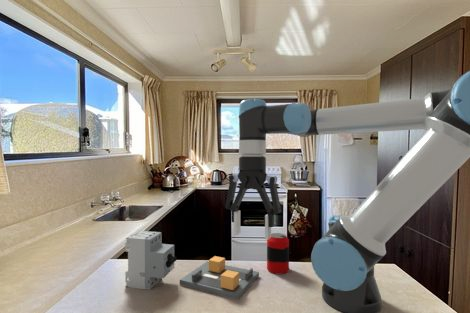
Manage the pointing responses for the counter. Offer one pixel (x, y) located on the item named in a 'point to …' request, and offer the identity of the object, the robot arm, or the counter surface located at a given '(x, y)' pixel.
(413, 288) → the counter surface
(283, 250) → the soda can
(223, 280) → the tab
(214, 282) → the switch board
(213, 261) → the tab
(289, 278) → the counter surface
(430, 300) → the counter surface
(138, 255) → the circuit breaker
